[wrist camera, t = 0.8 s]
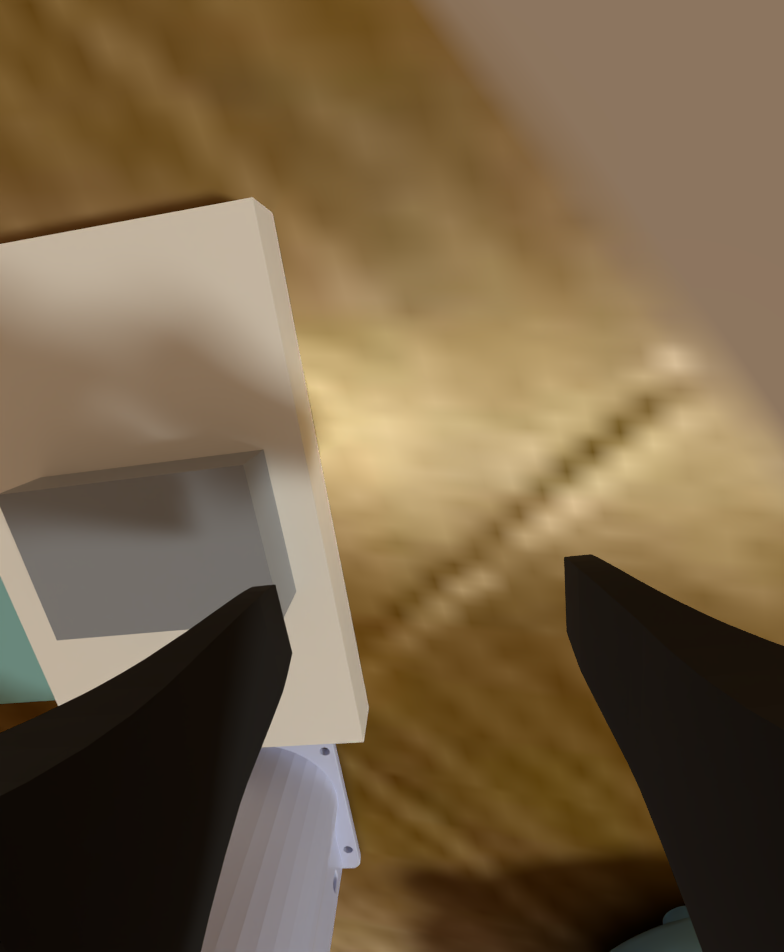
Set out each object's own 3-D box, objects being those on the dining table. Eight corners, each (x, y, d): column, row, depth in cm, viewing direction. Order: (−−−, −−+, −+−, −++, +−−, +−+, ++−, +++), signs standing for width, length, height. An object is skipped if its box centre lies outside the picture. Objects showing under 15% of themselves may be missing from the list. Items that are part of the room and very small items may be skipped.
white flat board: (368, 707, 23) (363, 742, 21) (108, 723, 24) (81, 757, 22) (272, 212, 16) (252, 197, 14) (-77, 275, 18) (-137, 269, 16)
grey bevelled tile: (296, 591, 19) (282, 621, 17) (92, 610, 19) (56, 640, 18) (263, 449, 17) (243, 464, 15) (41, 477, 18) (-5, 495, 16)
